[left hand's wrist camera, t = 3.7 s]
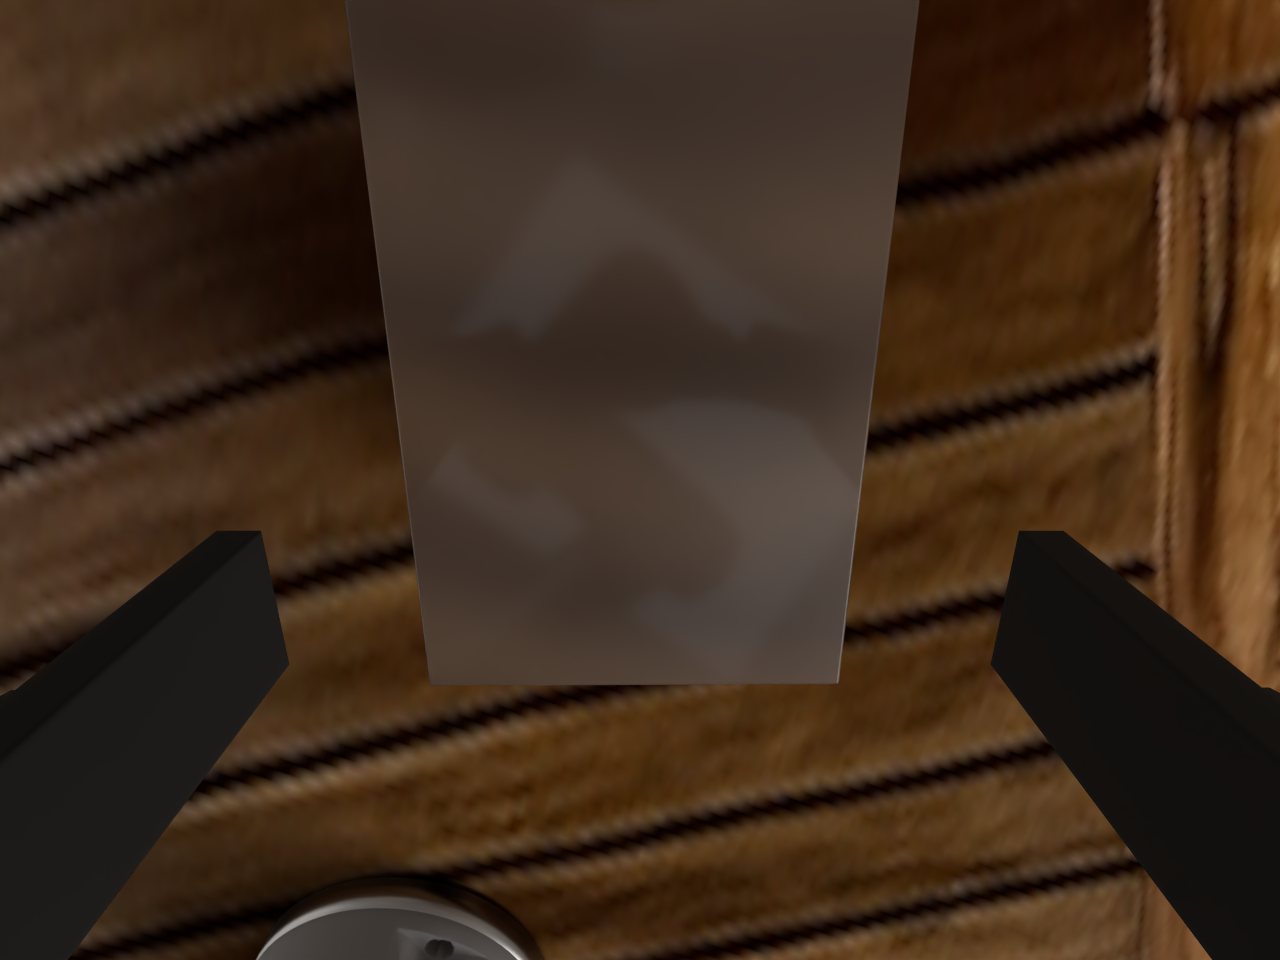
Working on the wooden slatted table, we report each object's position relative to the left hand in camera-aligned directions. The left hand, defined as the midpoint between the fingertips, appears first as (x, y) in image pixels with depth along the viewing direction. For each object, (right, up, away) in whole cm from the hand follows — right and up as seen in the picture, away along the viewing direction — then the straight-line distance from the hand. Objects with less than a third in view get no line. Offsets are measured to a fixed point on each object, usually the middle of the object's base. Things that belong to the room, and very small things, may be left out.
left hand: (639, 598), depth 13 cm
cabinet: (0, +9, +13) cm, 16 cm away
